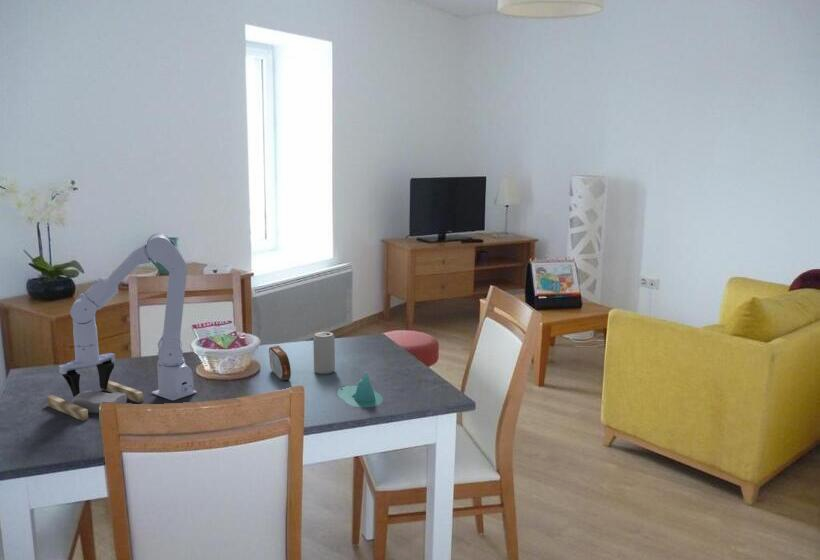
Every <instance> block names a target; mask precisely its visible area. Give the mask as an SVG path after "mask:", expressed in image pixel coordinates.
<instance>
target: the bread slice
mask: <svg viewBox="0 0 820 560" xmlns="http://www.w3.org/2000/svg"><path fill="white" fill-rule="evenodd" d="M268 354H269V355H268V357H269V365H270V369H271V372H272V374H274V375H275V376H276V378H277V379H278V380H279V381H287V380H291V375H292V371H291V364H290V359H289V356H288V354H287V352H286V351H285V350H284V349H283V348H281V347H280V345H274V346H271V347H269V348H268Z"/></svg>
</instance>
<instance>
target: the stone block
mask: <svg viewBox="0 0 820 560" xmlns="http://www.w3.org/2000/svg"><path fill="white" fill-rule="evenodd" d="M127 400H128V399H127V397H126V394H125V393H120V392H114V393H111V392H109V393H108V392H102V391H97V390H90V389H89V390H84V391H82V392H80V393H79V394H78V395H76V396H75V397H72V401H71V403H73V404H75V405H78V406H80V407H83V408H85V409H87V410H88V414H99V405H100V403H103V402H120V403H126V404H127Z"/></svg>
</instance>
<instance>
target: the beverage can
mask: <svg viewBox="0 0 820 560" xmlns="http://www.w3.org/2000/svg"><path fill="white" fill-rule="evenodd" d="M335 339H336V337H335V336H334V333H333V332H331V331H320V332H315V333H314V337H313V339H312V341H313V344H312V345H313V371H314V372H315V373H316V374H317V375H318V374H319V375H329V374H332V373H334V371H335V370H336V357H335V356H336V355H335V354H336V351H335V350H336V348H335V345H336V344H335V343H336V342H335V341H336V340H335Z"/></svg>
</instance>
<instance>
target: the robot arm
mask: <svg viewBox="0 0 820 560" xmlns="http://www.w3.org/2000/svg"><path fill="white" fill-rule="evenodd" d="M176 244H177V243H175V241H174V240H172V238H171V237H169V236H168V235H166V234H164V233H159V232H158V233H153V234H152V235H150V236H149V237H148V239H147V241H146V240H145V241H143V242H142V243H141V244H139V245H138V246H137V247H135V248H134V249H133V250H132V251H131V252H130V253H129V254H128V255H127V257H125V258H124V260H123V261H122V262H121V263H120V264H119V265H118V266H117V267H116V268H115V269H114V270H113V271H112V273H111V274H110V275H108V276H100V277H99V278H98V279H97V278H94V280H93V281H91V282H92V285H90V287H89V288H88V289H86V291H85V292H84V293H83V292H81V293H80V294H79V296H78V297H79V298H78V299H76V300H75V301H74V302H73V304H72V305H71V308H70V310H69V312H70V317H71V318H72V326H73V327H72V332H73V333H72V334H73V345H74V355H75V357H74V358H75V359H74V360H72V361H69V362H66V363H64V364H62V365H61V364H60V365H58V372H59V374H61V376H62V377H63V378H64V380H65V381H66V383H67V384H68V386H69V388H70V390H71V394H72V396H73V397H72V398H74V397H75V396H76V395H78V394H79V393H81V392H80V390H81V389H80V378H81V374H80V373H78V370H82V369H86V368H90V367H93V366H96V369H97V372H98V373H97V374H98V379H99V380H98V381H99V386H100V389H101V390H102V391H103V390H104V391H106V389H107V385H108V380H110V376H111V374H112V372H113V370H114V368H115V361H116V354H115V353H112V352H109V353H102V354H100V350H99V349H100V348H99V340H98V338H99V337H98V326H97V324H96V313H97V311H99V310H101V309H102V308H103V307H104V306H105V305H107V304H108V303H109V301H110V300H111V299H113V297H115V295H116V294H117V293H118V292H119V284H120V283H121V282H123V280H125V279H126V278H127V277H128V276H129V275H130V274H131V273H133V271H134V270H135V269H136V268H137V267H139V266H140V265H143V264H149V263H151V261H152V260H153V261H155V262H156V263H159V264H161V265H162V266H163V267H164V268H165V269H166V270H167V272H168V280H167V292H166V299H165V300H166V301H165V310H164V321H163V322H164V323H163V330H162V336H161V338H160V339H159V341H158V343H157V348H158V352H157V357H158V360H157V361H156V366H157V370H156V371H157V381H158V383H157V384H158V386H157V387H158V389H156V390H153V391H151V394H152V395H155V396H159V397H161V398H164V399H166V400H169V401H176V400H179V399H181V398H186V397H188V396H191V395H194V394H196V393H197V390H195V388H194V385H195V384H194V374H193V373H194V372H193V370H192V369H191V367H189V366H188V365H187V363H186V361H185V357H183V349H182V347H183V343H182V341H181V337H182V336H181V335H182V321H183V313H184V312H183V311H184V302H185V292H186V282H187V274H188V265H187V262H186V260H185V258H184V257H183V255H182V253H181V252H180V250H179V248H178V246H177V245H176Z"/></svg>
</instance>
